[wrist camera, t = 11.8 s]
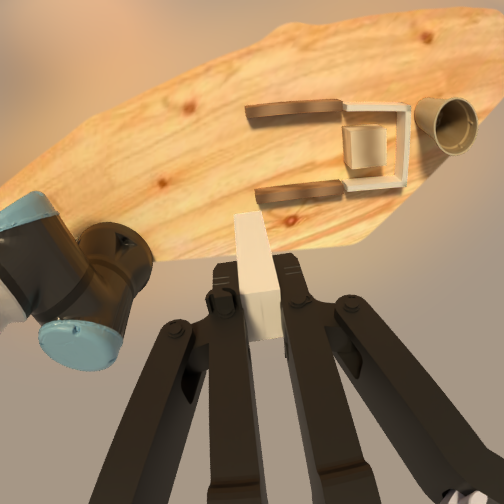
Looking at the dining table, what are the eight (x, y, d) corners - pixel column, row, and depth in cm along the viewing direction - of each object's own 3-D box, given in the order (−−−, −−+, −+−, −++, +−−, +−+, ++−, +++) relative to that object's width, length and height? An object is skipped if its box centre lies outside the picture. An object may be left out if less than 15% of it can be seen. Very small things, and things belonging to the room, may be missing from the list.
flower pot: (440, 146, 49) (468, 162, 41) (399, 132, 47) (427, 147, 40) (453, 99, 44) (484, 110, 36) (413, 81, 42) (443, 88, 35)
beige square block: (343, 161, 50) (352, 169, 46) (341, 126, 46) (350, 131, 43) (376, 157, 50) (386, 165, 46) (375, 123, 46) (386, 128, 43)
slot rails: (255, 197, 52) (257, 203, 50) (244, 105, 44) (245, 108, 41) (338, 187, 52) (343, 193, 50) (337, 99, 44) (342, 101, 42)
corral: (341, 184, 52) (347, 191, 49) (340, 102, 44) (347, 104, 41) (398, 180, 52) (406, 186, 49) (401, 102, 44) (411, 105, 42)
